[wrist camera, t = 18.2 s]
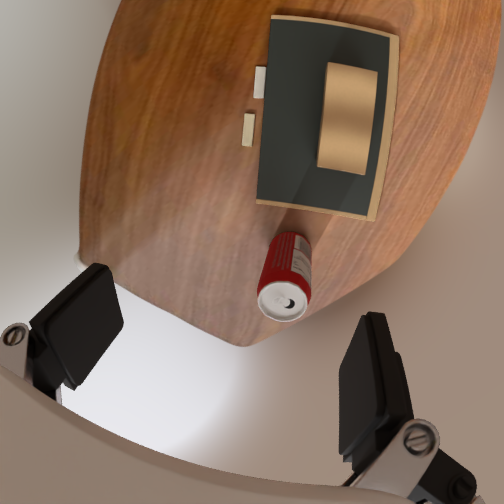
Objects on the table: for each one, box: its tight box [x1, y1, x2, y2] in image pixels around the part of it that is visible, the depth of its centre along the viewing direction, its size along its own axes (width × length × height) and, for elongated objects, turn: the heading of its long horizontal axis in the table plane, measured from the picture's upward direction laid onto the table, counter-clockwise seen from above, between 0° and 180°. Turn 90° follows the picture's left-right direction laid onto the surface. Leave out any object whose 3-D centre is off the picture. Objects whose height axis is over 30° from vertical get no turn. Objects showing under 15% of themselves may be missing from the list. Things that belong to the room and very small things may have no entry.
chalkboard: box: [256, 15, 399, 222], centre depth 28 cm, size 24×15×1 cm, turn 177°
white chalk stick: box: [254, 66, 266, 98], centre depth 28 cm, size 4×1×1 cm, turn 177°
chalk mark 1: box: [242, 113, 255, 146], centre depth 31 cm, size 4×1×1 cm, turn 176°
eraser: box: [316, 62, 378, 175], centre depth 25 cm, size 11×5×4 cm, turn 177°
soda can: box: [257, 232, 311, 322], centre depth 32 cm, size 6×6×12 cm
